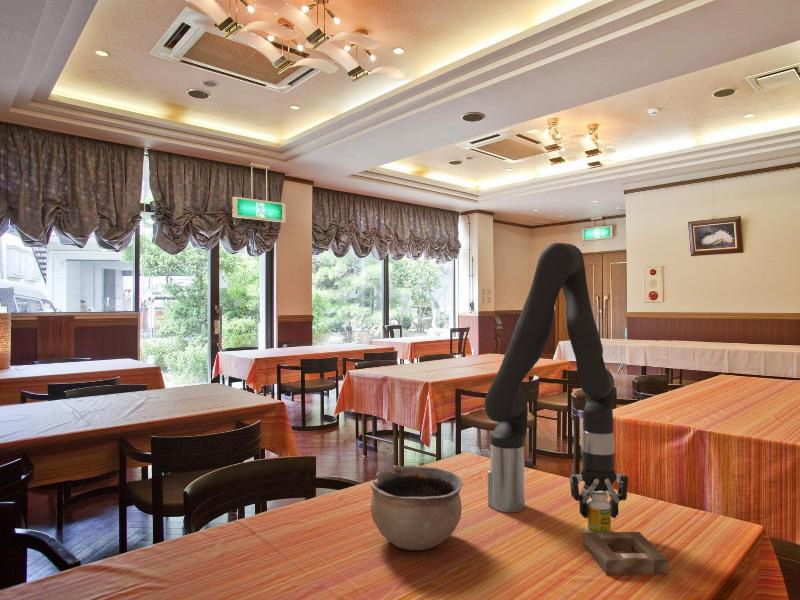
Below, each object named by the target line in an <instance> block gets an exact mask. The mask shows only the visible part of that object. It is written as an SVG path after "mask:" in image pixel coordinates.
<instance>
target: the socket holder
mask: <svg viewBox="0 0 800 600" xmlns="http://www.w3.org/2000/svg"><path fill="white" fill-rule="evenodd" d="M582 536H583V540H582V541H583V542H582V543H583V544H582V545H583V546H584V549H586V551H587V552H588V553H589V555H590V556H591V557H592V558H593V560H594V561H595V562H596V563H598V564H599V565H598V564H597V565H598V566H599V567H600V569H601V568H602V569H601V570H602V572H604V574H605V575H606V576H614V575H615V576H617V575H618V576H619V575H624V576H627V575H629V576H630V575H635V576H636V575H669V573H670V572H669V568H670V567H669V565H670V563H669V559H668V558H667V557H666V555H664V554H663V553H662V552H661V551H660V550H659V549H658V548H657V547H656V546H655V545H654V544H652V542H650V541H649V540H648V539H647V538H646V536H644V535H643V534H642V533H641V532H639V531H611V532H589V531H588V532H583V535H582Z"/></svg>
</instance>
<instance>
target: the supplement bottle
mask: <svg viewBox="0 0 800 600" xmlns="http://www.w3.org/2000/svg"><path fill="white" fill-rule="evenodd" d="M587 503H588V518H587V529H588V530H587V531H588V532H612V531H611V530H612V526H611V525H612V520H611V518H612V517H611V506H610V501H608V492H607V491H597V492H594V491H593V493H592V495H591V496H590V497H589V499H588V501H587Z"/></svg>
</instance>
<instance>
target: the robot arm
mask: <svg viewBox="0 0 800 600" xmlns="http://www.w3.org/2000/svg"><path fill="white" fill-rule="evenodd" d="M586 273H587V272H586V266H585V259H584V255H583V252H582V251H581V249H580V248H579V247H577V246H576V245H575V244H571V243H566V242H554V243H550V244H548V245H547V246H546V247H545V248H544V249H542V251H541V253H540V254H539V257H538V260H537V263H536V267H535V272H534V275H533V277H532V278H533V279H532V283H531V286H530V289H529V292H528V294H527V297H526V300H525V302H524V305H523V307H522V310H521V311H520V315H519V318H518V320H517V322H516V325H515V327H514V330H513V332H512V335H511V338H510V341H509V344H508V347H507V349H506V351H505V353H504V357H503V359H502V362H501V364H500V367H499V369H498V371H497V374H496V375H495V377H494V379H493V381H492V383H491V385H490V387H489V388H488V391H487V393H486V395H485V398H484V412H485V413H486V416H487V417H488V418H489V419H490V420H491V421H493V422H496V423H497V424H496V426H495V428H494V429H493V431H491V433H490V438H489V439H490V448H489V449H490V469H489V470H488V472H487V506H489V507H491V508H493V509H494V510H497V511H498V512H503V513H518V512H521V511H523V510H525V508H526V507H525V506H526V505H525V504H526V503H525V502H526V497H525V495H526V494H525V493H526V492H525V491H526V489H525V486H526V485H525V439H526V436H527V432H528V417H529V416H528V415H529V414H528V410H529V409H528V408H529V406H528V399H527V396H526V394H525V392H524V390H523V389H522V388H521V385H522V383H523V381H524V379H525V377H527V375H528V374H529V373H530V371H531V370H532V368H533V367H535V365H536V364H537V363H538V361H540V358H541V357H542V356H543V354H544V352H545V351H546V349H547V345H548V343H549V340H550V337H551V336H552V333H553V328H554V319H555V307H556V303H557V298H558V296H559V293H560V292H561V289H562V292H563V297H564V301H565V314H566V315H565V317H566V329H567V333H568V338H569V341H570V345H571V348H572V351H573V354H574V357H575V358H574V359H575V363H576V365H575V366H576V371H577V377H578V381H579V385H580V389H581V390H582V391H583V393H584V394H585V405H584V407H583V411H582V436H581V437H582V438H581V449H582V450H581V452H582V453H581V455H582V456H581V458H582V461H581V462H582V463H581V464H582V471H581V472H580V473H579V474H578V473H577V474H574V473H569V485H570V493H571V494H570V495H571V497H572V498H573V499H574V500H575V501H576V502H578V504H579V506H578V507H579V513H580V515H581V516H582V517H583V518H584V519H588V500H589V499H590V496H591V495H592V493H593V491H594V492H597V491H604V492H606V493H607V495H609V498H610V499H609V503H610V506H611V518H613V519H616V518H617V516H619V502H621V501H626V500H627V498H628V485H629V477H628V476H627V475H625V473H623V472H620V473H616V471H615V470H616V460H615V459H616V458H615V457H616V453H615V451H616V450H615V449H616V447H615V441H616V440H615V436H614V414H613V410H614V409H613V408H614V407H613V406H614V398H615V379H614V378H615V377H614V376H613V373H611V372H610V370H609V369H607V368H606V363H605V360H604V348H603V344H602V341H601V336H600V333H599V330H598V326H597V324H596V320H595V316H594V312H593V309H592V304H591V301H590V299H591V298H590V295H589V289H588V284H587V282H588V281H587V276H586V275H587V274H586ZM581 481H583V482H584V484H583V485H582V488H581V491H580V488H579V487H580V486H579V485H580V483H581ZM615 481H616V482H617V485H618V486H617V492H616V490H615V489H614V486H613V484H614V483H615Z"/></svg>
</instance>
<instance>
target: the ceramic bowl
mask: <svg viewBox="0 0 800 600" xmlns="http://www.w3.org/2000/svg"><path fill="white" fill-rule="evenodd" d="M462 487H463V480H462V479H461V477H460V476H459V475H457V474H456V473H454V472H452V471H448V470H444V469H442V468H439V467H432V466H423V465H422V466H419V465H417V466H416V465H401V466H395V467H394V468H393V471H392V470H390V469H382V470H381V471H379V472H376V481H374V480H373V479H371V480H370V488H371V491H372V495H371V497H370V498H371V500H370V513H371V517H372V519H373V523H374V524H375V526H376V527H377V530H378V531H379V532H380V534H381V535H382V536H383V537H384V538H385V539H386V540H387V541H388V542H389V543H391V544H392V545H393V546H396V548H397V547H398V548H399V549H403V550H408V551H423V550H428V549H431V548H434V547H437V546H438V545H440V544H442V543H443V542H444V541H445V540H447V539H448V538H449V537H450V536H451V535H452V534H453V533H454V531H455V530H456V529H457V527H458V524H459V523H460V520H461V517H462V500H461V496H460V491H461V490H462Z"/></svg>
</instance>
